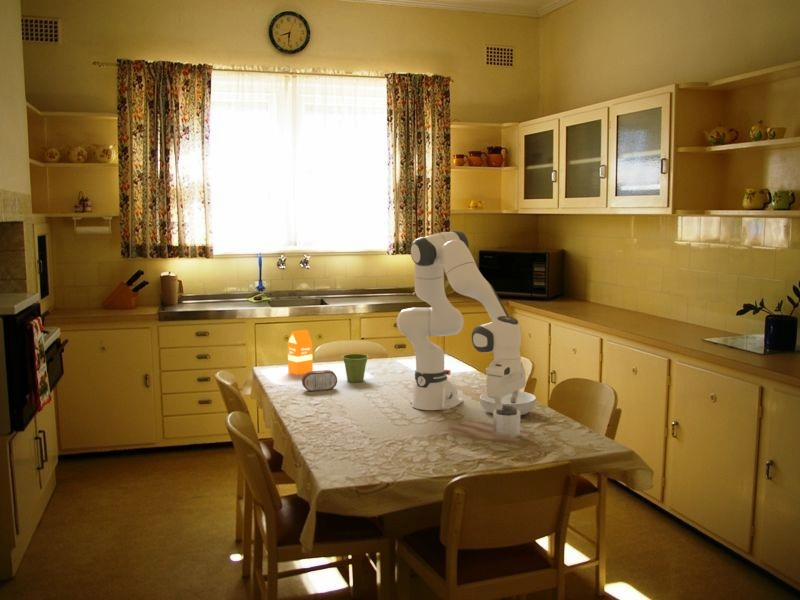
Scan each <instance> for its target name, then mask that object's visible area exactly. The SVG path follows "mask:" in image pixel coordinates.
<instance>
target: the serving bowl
mask: <svg viewBox="0 0 800 600" xmlns="http://www.w3.org/2000/svg"><path fill="white" fill-rule="evenodd" d="M512 393H513V392H512ZM512 393H510V394H507V395H505V396H503V397H502V400H501V402H502V404H504V405H510V406H513V407H515V408H517V410H519V411H520V416H524V415H527V414H528V413H530V412H531V411H532V410H533V409H534V408H535V405H536V400H537V397H536V395H535V394H532V393H529V392H528V391H527V392H526V391H520V390H519V394H518V397H517V403H514V404H513V403H511V402H510V401H511V400H510V398H511V397H512ZM479 401H480V404H481V407H482V408H483V410H485V411H486V412H487V413H489V414H492V415H493V410H495V409H496V403H495V400H494V398H489V397H488V395H487V391H486V392H484V393H482V394H480V395H479Z"/></svg>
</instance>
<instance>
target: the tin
mask: <svg viewBox="0 0 800 600" xmlns="http://www.w3.org/2000/svg"><path fill="white" fill-rule="evenodd" d="M301 379H302V380H301V384H302V386H303V388H305V390H307V391H309V392H320V390H322V391H330V389H331V390H332V389H334V388H335V387H336V386H337V383H338V377H337V375H336V374H335V372H334V371H332V370H330V369H328V370H326V369H325V370H313V371H310V372H307V373H304V374H303V376H302V378H301Z"/></svg>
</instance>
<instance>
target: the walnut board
mask: <svg viewBox="0 0 800 600" xmlns="http://www.w3.org/2000/svg"><path fill="white" fill-rule="evenodd" d="M444 431H446V432H449V433H450V432H451V433H455V434H459V435H464V436H469V437H473V438H478V439H483V440H487V441H492V442H496V443H501V444H505V445H513V444H514V443H516V442H518V441H521V440H522V439H524V438H526V437H528V436H530V435H532V434H534V432H533V431H528V430H525V429H520V437H518V438H515V439H501V438H496V437H495V436H493V423H489V422H485V421H480V420H475V419H467V420H465V421H462V422H459V423H457V424H455V425H452V426H451V427H448V428H446V429H444Z"/></svg>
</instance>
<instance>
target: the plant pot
mask: <svg viewBox="0 0 800 600" xmlns="http://www.w3.org/2000/svg"><path fill="white" fill-rule="evenodd" d="M341 357H342V359H343V363H344V367H345V374H346V379H347V381H348V382H350V381H351V382H350V383H359V382H361V381H362V382H363V381H364V380H365V373H366V372H365V371H366V366H367V363H368V358H369V357H370V356H369V355H367V354H365V353H350V354H349V353H348V354H344V355H342V356H341Z"/></svg>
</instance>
